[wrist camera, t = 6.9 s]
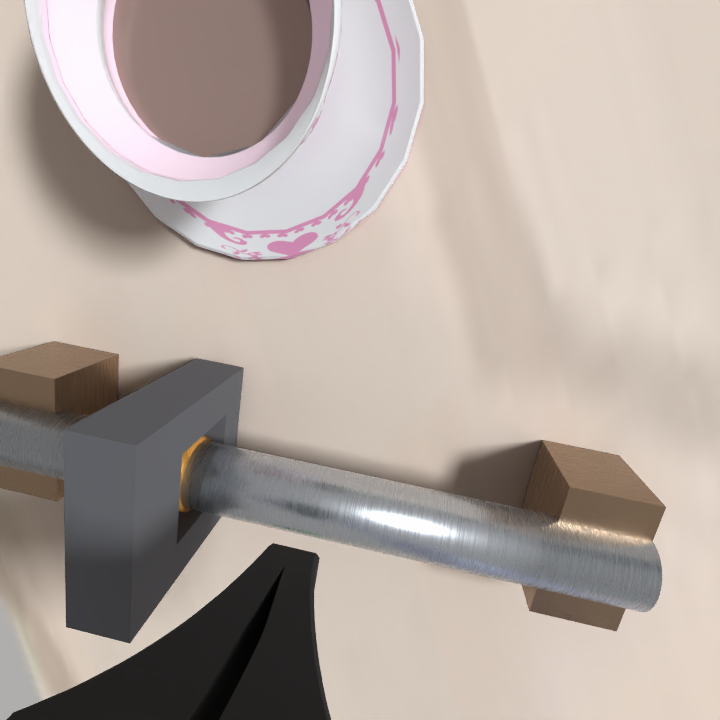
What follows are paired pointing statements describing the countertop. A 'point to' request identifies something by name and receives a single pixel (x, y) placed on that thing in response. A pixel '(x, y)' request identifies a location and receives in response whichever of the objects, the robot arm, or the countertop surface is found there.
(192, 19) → the teacup
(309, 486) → the pipe rig
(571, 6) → the countertop surface
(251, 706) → the robot arm
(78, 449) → the collar
